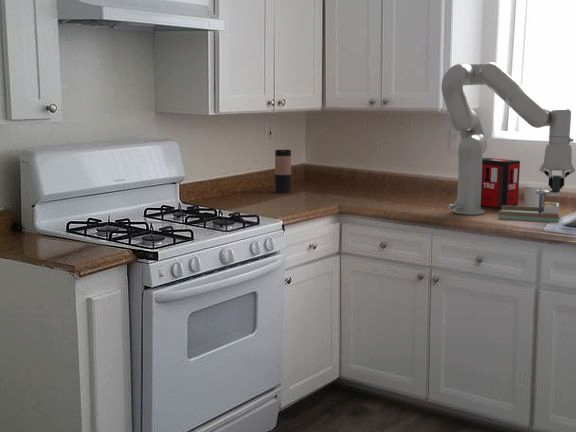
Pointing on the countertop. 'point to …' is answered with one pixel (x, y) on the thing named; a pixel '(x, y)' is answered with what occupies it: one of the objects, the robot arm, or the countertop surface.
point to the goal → (551, 208)
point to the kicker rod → (554, 192)
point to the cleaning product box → (499, 183)
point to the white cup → (532, 195)
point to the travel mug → (282, 171)
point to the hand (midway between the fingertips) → (556, 187)
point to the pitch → (526, 214)
